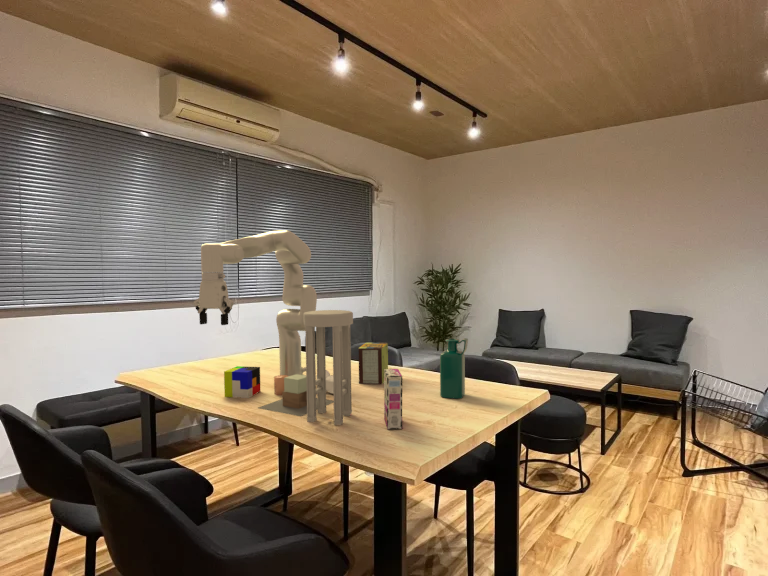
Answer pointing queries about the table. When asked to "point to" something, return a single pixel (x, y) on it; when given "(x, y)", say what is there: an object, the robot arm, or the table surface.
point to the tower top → (295, 384)
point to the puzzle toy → (242, 381)
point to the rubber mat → (289, 408)
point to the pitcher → (453, 370)
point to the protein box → (372, 362)
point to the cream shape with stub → (329, 382)
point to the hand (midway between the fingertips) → (214, 324)
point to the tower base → (294, 399)
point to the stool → (341, 363)
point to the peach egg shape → (279, 384)
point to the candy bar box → (393, 398)
